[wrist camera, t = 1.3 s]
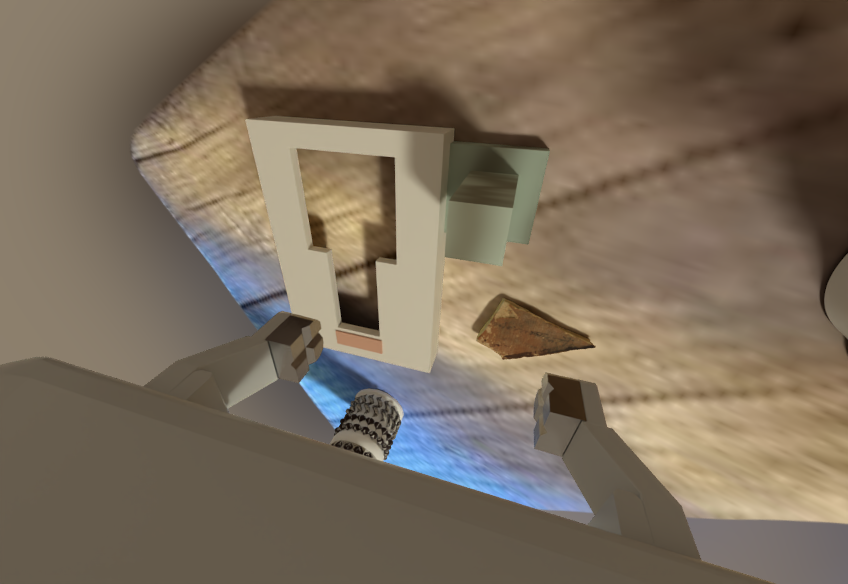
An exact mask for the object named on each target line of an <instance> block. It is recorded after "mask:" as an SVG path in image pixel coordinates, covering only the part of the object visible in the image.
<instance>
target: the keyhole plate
mask: <svg viewBox="0 0 848 584" xmlns="http://www.w3.org/2000/svg"><path fill="white" fill-rule="evenodd" d="M245 120H246V125H247V129H248V133H249V137H250V141H251V145H252V150H253V154H254V158H255V162H256V166H257V170H258V174H259V179H260V183H261V187H262V191H263V195H264V199H265V203H266V208H267V212H268V216H269V220H270V224H271V228H272V233H273V237H274V241H275V245H276V249H277V253H278V257H279V262H280V266H281V270H282V274H283V278H284V282H285V286H286V291H287V295H288V299H289V303H290V307H291V311H292V314H297V315H301V316H305V317H309V318H312V319H316V320H318V321H320V324H321V330H320V331H319V333H320V335H321V336H322V337H323V342H324V343H323V347H325V348H329V349H333V350H337V351H341V352H345V353H349V354H353V355H358V356H362V357H366V358H370V359H374V360H378V361H382V362H386V363H390V364H395V365H399V366H403V367H407V368H411V369H415V370H419V371H423V372H427V373H430V371H431V368H432V365H433V362H434V360H435V357H436V354H437V352H438V341H439V328H440V315H441V302H442V289H443V276H444V262H445V244H446V233H444V227H445V213H446V199H447V185H448V171H449V156H450V143H452V142H453V141H454V131H455V128H443V127H428V126H414V125H400V124H386V123H371V122H357V121H343V120H329V119H314V118H300V117H286V116H268V117H259V118H251V119H245ZM296 148H301V149H311V150H322V151H333V152H343V153H354V154H365V155H375V156H386V157H395V191H396V254H397V260H394V259H388V258H382V257H379V258H378V259H377V260H376V277H377V295H378V312H379V330H380V331H378V330H374V329H369V328H365V327H360V326H356V325H351V324H346V323H342V321H341V313H340V306H339V299H338V291H337V284H336V277H335V270H334V262H333V255H332V249H328V248H322V247H316V246H313V243H312V237H311V231H310V225H309V219H308V214H307V208H306V202H305V196H304V190H303V184H302V179H301V173H300V167H299V161H298V155H297V149H296Z"/></svg>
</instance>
